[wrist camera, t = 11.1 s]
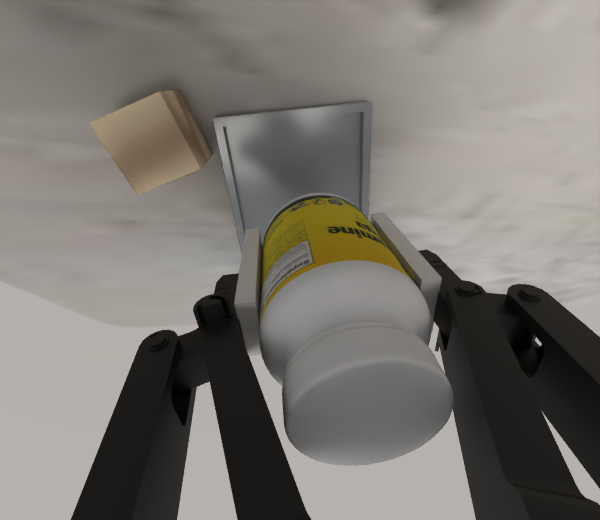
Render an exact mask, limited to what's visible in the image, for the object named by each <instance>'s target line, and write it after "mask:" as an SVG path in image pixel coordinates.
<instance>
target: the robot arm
mask: <svg viewBox="0 0 600 520" xmlns="http://www.w3.org/2000/svg"><path fill="white" fill-rule="evenodd" d="M371 224H372V226H373V227H374V228H375V230H376V231H377V233H378V234H379V235H380V237H381V238H382V239H383V241H384V242H385V244H386V245H387V246H388V248H389V249H390V250H391V252H392V253H393V254H394V255H395V257H396V258H397V259H398V261H399V262H400V263H401V265H402V266H403V268H404V269H405V270H406V271H407V273H408V274H409V276H410V277H411V278H412V280H413V281H414V282H415V284H416V285H417V287H418V288H419V290H420V291H421V293H422V295H423V297H424V299H425V301H426V303H427V306H428V308H429V312H430V316H431V332H432V329H433V324H434V322H435V323H436V324H437V326H438V327H439V333H438V337H437V342H436V348H435V351H438V349H439V347H440V351H441V355H442V360H443V365H444V370H445V374H446V376H447V378H448V380H449V383H450V385H451V387H452V390H453V397H454V402H453V412H454V417H455V422H456V427H457V432H458V436H459V441H460V445H461V451H462V455H463V460H464V465H465V470H466V474H467V479H468V484H469V488H470V493H471V498H472V502H473V507H474V512H475V517H476V520H600V505H599V504H598V503H596V502H594V501H592V500H589V499H587V498H585V497H584V496H583V495H582V494H581V493H580V491H579V489H578V487H577V486H576V484H575V482H574V479H573V477H572V475H571V473H570V471H569V469H568V467H567V465H566V463H565V460H564V458H563V456H562V454H561V452H560V450H559V447H558V445H557V444H556V441H555V439H554V437H553V435H552V433H551V431H550V428H549V426H548V424H547V422H546V420H545V418H544V416H543V413H544V414H545V416H546V417H547V419H548V420H549V421H550V423H551V424H552V425H553V427H554V428H555V429H556V431H557V432H558V433H559V435H560V436H561V437H562V438H563V440H564V441H565V443H566V444H567V445H568V447H569V448H570V449H571V451H572V452H573V453H574V455H575V456H576V457H577V459H578V460H579V461H580V463H581V464H582V465H583V467H584V468H585V469H586V471H587V472H588V473H589V475H590V476H591V477H592V479H593V480H594V481H595V483H596V484H597V485H598V487H599V488H600V337H599V336H598V335H597V334H595V333H594V332H593V331H592V330H590V329H589V328H588V327H587V326H586V325H585V324H584V323H582V322H581V321H580V320H579V319H578V318H576V317H575V316H574V315H573V314H572V313H571V312H569V311H568V310H567V309H566V308H565V307H563V306H562V305H561V304H560V303H559V302H557V301H556V300H555V299H554V298H553V297H552V296H550V295H549V294H548V293H547V292H545V291H543V290H542V289H540V288H537V287H535V286H531V285H526V284H516V285H512V286H511V287H509V288H508V292H507V295H506V294H493V293H486V292H485V291H484V289H483V288H482V287H481V286H479V285H477V284H475V283H472V282H470V281H463V280H461V279H460V278H459V277H458V276H457V275H456V274H455V273H454V272H453V271H452V270H451V269H450V268H449V267H448V266H447V265H446V264H445V263H444V262H442V260H441V259H440V258H439V257H438V256H437V255H436V254H434V253H432V252H430V251H428V250H421V251H417V249H416V248H415V247H414V246H413V245H412V244H411V243H410V242H409V240H408V239H407V238H406V237H405V236H404V235H403V234H402V233H401V231H400V230H399V229H398V228H397V227H396V226H395V225H394V224H393V222H392V221H391V220H390V219H389V218H388V217H387V216H386V215H385V213H380V214H372V215H371ZM262 255H263V245H262V240H261V234H260V228H252V229H246V231H245V237H244V244H243V250H242V257H241V263H240V269H239V273H238V274H230V275H223V276H222V277H221V278H220V279H219V280H218V281H217V283H216V287H215V291H214V294H212V295H208V296H206V297H203V298H201V299H200V300H199V301H197V302H196V304H195V305H194V308H193V312H194V315H195V317H196V320H197V323H198V326H199V328H197V329H196V330H194V331H192V332H189V333H186V334H184V335H181V336H177V334H176V333H175V332H174V331H171V330H161V331H158V332H155V333H153V334H151V335H150V336H148V337H147V338H145V339H144V340H143V341H142V343H141V345H140V346H139V348H138V351H137V353H136V356H135V358H134V361H133V363H132V366H131V368H130V371H129V373H128V376H127V379H126V381H125V384H124V386H123V389H122V391H121V394H120V396H119V399H118V402H117V404H116V407H115V409H114V412H113V414H112V417H111V420H110V422H109V424H108V427H107V429H106V432H105V434H104V437H103V440H102V442H101V444H100V447H99V450H98V452H97V455H96V457H95V460H94V462H93V465H92V467H91V470H90V472H89V475H88V477H87V480H86V483H85V485H84V488H83V490H82V493H81V495H80V498H79V500H78V503H77V505H76V508H75V510H74V513H73V516H72V518H71V520H177V515H178V508H179V502H180V495H181V488H182V482H183V475H184V468H185V461H186V455H187V448H188V442H189V435H190V427H191V422H192V415H193V407H194V401H195V394H196V388H197V386H200V385H202V384H204V383H207V382H209V381H210V385H211V389H212V395H213V399H214V404H215V410H216V414H217V419H218V424H219V429H220V434H221V439H222V444H223V449H224V454H225V459H226V464H227V469H228V473H229V479H230V484H231V489H232V494H233V499H234V504H235V509H236V514H237V519H238V520H311V518H310V517H309V515H308V514H307V511H306V510H305V507H304V504H303V502H302V499H301V496H300V493H299V491H298V488H297V485H296V482H295V480H294V477H293V474H292V472H291V469H290V466H289V464H288V461H287V458H286V455H285V453H284V450H283V448H282V445H281V442H280V439H279V437H278V434H277V431H276V429H275V426H274V423H273V420H272V418H271V415H270V412H269V410H268V407H267V404H266V401H265V399H264V396H263V393H262V391H261V388H260V385H259V383H258V380H257V377H256V374H255V372H254V369H253V367H252V364H251V361H250V358H249V356H252V355H260V354H261V350H260V341H259V323H260V304H261V280H262ZM536 337H537V338H538V339H539V341H540V342H541V343H542V345H541V346H539V345H538V344H537V343H536V342H535V338H536ZM541 410H542V411H541ZM542 412H543V413H542Z"/></svg>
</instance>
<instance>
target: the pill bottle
mask: <svg viewBox="0 0 600 520" xmlns="http://www.w3.org/2000/svg"><path fill="white" fill-rule="evenodd" d="M430 337H431V316H430V312H429V308H428V306H427V303H426V301H425V299H424V297H423V295H422V293H421V291H420V290H419V288H418V287H417V285H416V284H415V282H414V281H413V280H412V278H411V277H410V276H409V274H408V273H407V271H406V270H405V269H404V268H403V266H402V265H401V263H400V262H399V261H398V259H397V258H396V257H395V255H394V254H393V253H392V252H391V250H390V249H389V248H388V246H387V245H386V244H385V242H384V241H383V239H382V238H381V237H380V235H379V234H378V233H377V231H376V230H375V228H374V227H373V226H372V224H371V223H370V221H369V220H368V219H367V217H366V216H365V215H364V214H363V212H362V211H361V210H360V209H359V208H358V207H357V206H356V205H355V204H353V203H352V202H351V201H349V200H347V199H346V198H344V197H341V196H339V195H335V194H331V193H310V194H306V195H302V196H299V197H297V198H295V199H293V200H291V201H290V202H288V203H287V204H285V205H284V206H283V207H281V208H280V209H279V210H278V211H277V212H276V213H275V215H274V216H273V217H272V219H271V220H270V222H269V224H268V226H267V229H266V232H265V235H264V241H263V255H262V280H261V304H260V323H259V341H260V350H261V354H262V358H263V360H264V363H265V365H266V367H267V369H268V370H269V372H270V374H271V375H272V376H273V377H274V379H275V380H276V381H277V382H278V383H279V384H280V385H281V386H282V387H283V389H282V397H283V415H284V426H285V431H286V434H287V436H288V438H289V440H290V442H291V443H292V444H293V445H294V447H295V448H296V449H298V450H299V451H300V452H301V453H303V454H304V455H306V456H308V457H310V458H312V459H315V460H317V461H320V462H324V463H329V464H335V465H368V464H372V463H379V462H383V461H387V460H391V459H394V458H397V457H399V456H402V455H404V454H407V453H409V452H411V451H413V450H415V449H417V448H419V447H420V446H422V445H424V444H425V443H426V442H427V441H429V440H430V439H431V438H433V437H434V436H435V435H436V434H437V433H438V432H439V431H440V430H441V429H442V428H443V426H444V425H445V424H446V423H447V421H448V419H449V417H450V415H451V412H452V409H453V402H454V397H453V390H452V387H451V385H450V383H449V380H448V378H447V376H446V375H445V373H444V372H443V370H442V368H441V366H440V365H439V363H438V362H437V360H436V358H435V355H434V354H433V353H432V351H431V350H430V348H429V347H428V345H429V342H430Z"/></svg>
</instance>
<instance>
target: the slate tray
mask: <svg viewBox="0 0 600 520" xmlns="http://www.w3.org/2000/svg"><path fill="white" fill-rule="evenodd" d="M371 112H372V102H369V101H361V102H352V103H342V104H333V105H323V106H314V107H304V108H295V109H285V110H275V111H266V112H256V113H247V114H237V115H228V116H218V117H215V118H213V122H214V127H215V132H216V136H217V141H218V146H219V150H220V155H221V160H222V164H223V169H224V174H225V178H226V183H227V188H228V192H229V197H230V202H231V206H232V211H233V216H234V220H235V225H236V230H237V234H238V239H239V244H240V248H241V253H242V250H243V244H244V237H245V231H246V229H252V228H260V234H261V240H262V245H263V241H264V235H265V232H266V229H267V226H268V224H269V222H270V220H271V219H272V217H273V216H274V215H275V213H276V212H277V211H278V210H279V209H280V208H281V207H283V206H284V205H285V204H287V203H288V202H290V201H291V200H293V199H295V198H297V197H299V196H302V195H306V194H310V193H331V194H335V195H339V196H341V197H344V198H346V199H347V200H349V201H351V202H352V203H353V204H355V205H356V206H357V207H358V208H359V209H360V210H361V211H362V212H363V214H364V215H365V216H366V217H367V219H368V208H369V176H370V144H371Z"/></svg>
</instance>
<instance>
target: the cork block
mask: <svg viewBox="0 0 600 520" xmlns="http://www.w3.org/2000/svg"><path fill="white" fill-rule="evenodd" d="M89 125H90V126H91V128H92V129H93V130H94V132H95V133H96V135H97V136H98V138H99V139H100V141H101V142H102V144H103V145H104V147H105V148H106V150H107V151H108V153H109V154H110V155H111V157H112V158H113V160H114V161H115V163H116V164H117V166H118V167H119V169H120V170H121V172H122V173H123V175H124V176H125V178H126V179H127V180H128V182H129V183H130V185H131V186H132V188H133V189H134V191H135V192H136V194H137V195H138V194H141V193H143V192H146V191H148V190H151V189H153V188H156V187H158V186H160V185H163V184H165V183H168V182H170V181H173V180H175V179H177V178H180V177H182V176H185V175H187V174H190V173H192V172H195V171H197V170H199V169H201V168H202V167H203V166H204V164H205V163H206V162H207V160H208V159H209V158H210V156H211V155H212V153H211V151H210V149H209V147H208V145H207V143H206V141H205V139H204V137H203V135H202V133H201V131H200V129H199V127H198V125H197V123H196V121H195V119H194V117H193V115H192V113H191V111H190V109H189V107H188V105H187V103H186V101H185V99H184V97H183V95H182V93H181V91H180V90H169V91H159V92H157V93H155V94H152V95H150V96H148V97H146V98H143V99H141V100H139V101H137V102H134V103H132V104H130V105H128V106H125V107H123V108H121V109H119V110H116V111H114V112H112V113H110V114H107V115H105V116H103V117H101V118H98V119H96V120H94V121H92V122H89Z"/></svg>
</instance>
